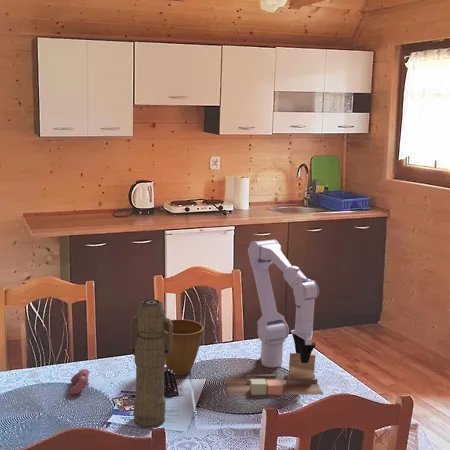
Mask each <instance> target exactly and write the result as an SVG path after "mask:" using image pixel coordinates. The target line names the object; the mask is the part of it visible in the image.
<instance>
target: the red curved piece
mask: <svg viewBox="0 0 450 450" xmlns="http://www.w3.org/2000/svg"><path fill="white" fill-rule="evenodd" d="M89 375H90V369H87V368H82V369H80V371H78V372H77V373H76V374H74V375H73V376H71V378H70V383H72V384H73V385H74V386H72V387H71V388H70V390H69V394H70V395H71V396H75V395H77V394H79V393H81V392H83V391H84V389H85V388H86V387H89V385H90V382H89V381H90V380H89V379H90V378H89Z"/></svg>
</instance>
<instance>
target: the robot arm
mask: <svg viewBox="0 0 450 450" xmlns="http://www.w3.org/2000/svg"><path fill="white" fill-rule="evenodd" d="M247 254H248V258H249V264H250V266H251V268H252V272H253V277H254V280H255V286H256V292H257V296H258V301H259V305H260V306H259V307H260V310H261V317H260V318H259V319H258V320H257V322H256V323H257V337H258V339H259V340H260V342H261V347H260V359H261V360H260V361H261V362H260V363H261V365H262V366H264V367H267V368H279V367H281V366H282V365H283V355H284V354H283V353H284V343H285V342H286V339H287V338H288V337H289V334H290V333H291V337H292V338H293V342H294V343H293V344H294V348H295V349H294V350H295V353H300V358H301V363H308V361H309V358H310V355H311V353H313V350H314V349H315V347H316V342H313V339H312V337H313V336H314V335H313V334H314V331H313V330H314V329H313V328H314V316H315V303H316V302H315V300H316V299H317V298H318V297H319V295H320V287H319V285H318V283H317V282H316V280H312V279H310V278H308V277H306V275H305V274H304V273H303V272H302V270H300V267H298V266H296V265H292V264H291V263H290V261H289V260H288V258H287V257H286V256H285V255H284V253H283V252H282V245H281V244H280V243H279V242H278V240H277V239H275V238H273V239H269V240H258V241H256V240H255V241H251V242H250V243H249V246H248V248H247ZM272 264H274V265H275V266H276V267H277V268H278V269H279V270H280V271H281V272H283V275H282V277H283V279H284V280H285V281H286V283H287V284H288V285H289V286H290V287H291V289H292V290H293V291H292V293H293V297H294V304H295V305H296V306H295V321H294V329H291V330H290V329H289V326H288V324H287V322H286V318H285V316H284V315H282V314H281V313H279V312H278V309H277V304H276V303H277V302H276V300H275V296H274V290H273V285H272V281H271V278H270V277H271V276H270V273H269V267H270V265H272Z"/></svg>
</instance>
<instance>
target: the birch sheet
mask: <svg viewBox="0 0 450 450" xmlns="http://www.w3.org/2000/svg"><path fill="white" fill-rule="evenodd" d="M288 364H289V365H288V374H289V376H288V379H314V375H315V366H316V365H315V364H316V354H315V353H314V352H311V355H310V358H309V361H308V363H301V358H300V353H296V352H293V353H291V352H290V353H289V361H288Z"/></svg>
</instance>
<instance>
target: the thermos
mask: <svg viewBox="0 0 450 450" xmlns="http://www.w3.org/2000/svg"><path fill="white" fill-rule="evenodd" d="M171 320H172V319H170V318H167V317H166V310H165V307H164V304H163V302H162V301H161V300H158V299H150V298H149V299H145V300H142V301H140V303H139V307H138V308H137V315H136V316H133V317H132V318H131V320H130V321H129V354H133V355H132V356H134V364H135V366H136V367H135V370H136V371H135V398H134V401H133V415H134V418H133V422H134V423H135V424H134V425H136V426H138V427H141V428H145V429H146V428H147V429H149V428H151V429H152V427H153V428H158V427H160V426H162V425H163V424H164V423H165V420H166V418H165V414H166V405H167V404H166V397H165V366H166V356H168V355H169V354H171V352H172V331H173V323H172V322H171ZM134 322H135V323H137V327H136V329H137V335H136V338H135V339H136V340H135V342H134V347H133V341H134V340H133V333H134V332H133V331H134V329H133V328H134V327H133V326H134V325H133V324H134ZM165 323H167V324H168V325H169V338H168V351H167V349H166V346H167V343H166V340H165V333H164V330H165Z"/></svg>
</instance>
